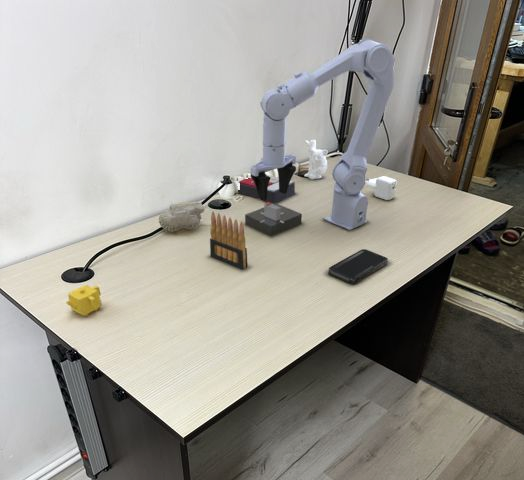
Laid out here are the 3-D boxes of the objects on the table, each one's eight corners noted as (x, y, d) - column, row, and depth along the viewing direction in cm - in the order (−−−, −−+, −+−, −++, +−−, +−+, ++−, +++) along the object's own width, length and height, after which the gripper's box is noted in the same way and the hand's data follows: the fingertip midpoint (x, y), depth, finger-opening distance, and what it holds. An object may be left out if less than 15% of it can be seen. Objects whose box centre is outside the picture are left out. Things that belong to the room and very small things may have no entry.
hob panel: (303, 224, 140) (303, 214, 138) (271, 238, 133) (272, 227, 131) (275, 212, 146) (275, 202, 144) (244, 225, 140) (243, 214, 138)
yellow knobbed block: (80, 324, 102) (75, 303, 99) (64, 314, 105) (57, 294, 101) (112, 307, 107) (107, 287, 104) (95, 298, 110) (90, 278, 106)
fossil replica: (154, 228, 138) (174, 244, 132) (150, 201, 132) (171, 216, 127) (190, 214, 143) (211, 228, 138) (187, 187, 137) (209, 200, 132)
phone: (326, 268, 118) (363, 248, 126) (326, 273, 119) (363, 252, 127) (353, 281, 114) (390, 258, 122) (352, 285, 114) (389, 262, 123)
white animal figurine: (298, 177, 170) (300, 140, 162) (310, 172, 174) (312, 136, 166) (318, 183, 165) (321, 145, 158) (330, 178, 169) (333, 141, 162)
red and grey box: (258, 171, 163) (295, 179, 155) (258, 184, 165) (295, 193, 158) (236, 181, 156) (273, 190, 148) (237, 194, 159) (274, 204, 151)
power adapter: (358, 192, 159) (360, 173, 156) (367, 188, 162) (369, 170, 158) (387, 202, 153) (390, 183, 150) (396, 197, 156) (399, 179, 152)
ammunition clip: (247, 267, 121) (247, 220, 114) (242, 270, 120) (242, 223, 112) (215, 254, 126) (212, 209, 119) (210, 256, 125) (207, 211, 117)
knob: (280, 219, 136) (280, 206, 133) (275, 221, 135) (276, 208, 132) (268, 214, 138) (268, 201, 136) (264, 216, 137) (264, 203, 135)
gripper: (283, 134, 131) (281, 185, 139) (242, 145, 123) (242, 199, 132) (302, 140, 127) (299, 192, 136) (261, 152, 119) (261, 206, 128)
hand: (272, 196), depth 133 cm, fingers open, 7 cm apart
